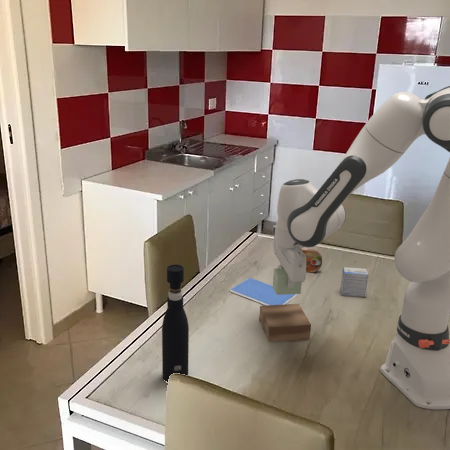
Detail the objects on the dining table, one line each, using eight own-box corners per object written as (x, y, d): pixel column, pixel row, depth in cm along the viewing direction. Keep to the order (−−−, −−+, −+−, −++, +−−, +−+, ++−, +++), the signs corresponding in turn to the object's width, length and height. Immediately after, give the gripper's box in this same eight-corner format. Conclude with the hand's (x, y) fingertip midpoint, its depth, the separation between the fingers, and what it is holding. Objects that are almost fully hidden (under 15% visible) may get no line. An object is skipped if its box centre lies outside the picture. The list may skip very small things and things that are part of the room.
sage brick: (300, 293, 146) (302, 274, 144) (276, 294, 145) (278, 275, 143) (296, 286, 150) (297, 267, 148) (272, 287, 149) (274, 268, 147)
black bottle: (175, 366, 133) (175, 259, 123) (193, 376, 129) (195, 267, 119) (157, 377, 128) (155, 268, 118) (175, 388, 125) (175, 276, 114)
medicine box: (363, 291, 176) (366, 268, 172) (365, 297, 171) (368, 274, 168) (339, 289, 176) (342, 266, 173) (341, 296, 172) (344, 272, 169)
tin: (279, 268, 191) (281, 247, 188) (281, 264, 194) (283, 244, 191) (320, 274, 187) (323, 253, 184) (321, 271, 190) (324, 249, 187)
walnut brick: (309, 339, 147) (311, 324, 145) (268, 342, 145) (269, 327, 144) (297, 318, 158) (298, 303, 156) (259, 320, 156) (260, 305, 155)
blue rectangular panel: (297, 297, 171) (298, 293, 171) (277, 312, 162) (277, 308, 161) (249, 280, 182) (249, 276, 181) (228, 293, 172) (228, 289, 172)
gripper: (314, 252, 132) (309, 299, 137) (292, 223, 151) (288, 266, 156) (290, 252, 131) (286, 300, 136) (271, 224, 150) (268, 267, 155)
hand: (287, 282), depth 146 cm, fingers closed on sage brick, 4 cm apart
